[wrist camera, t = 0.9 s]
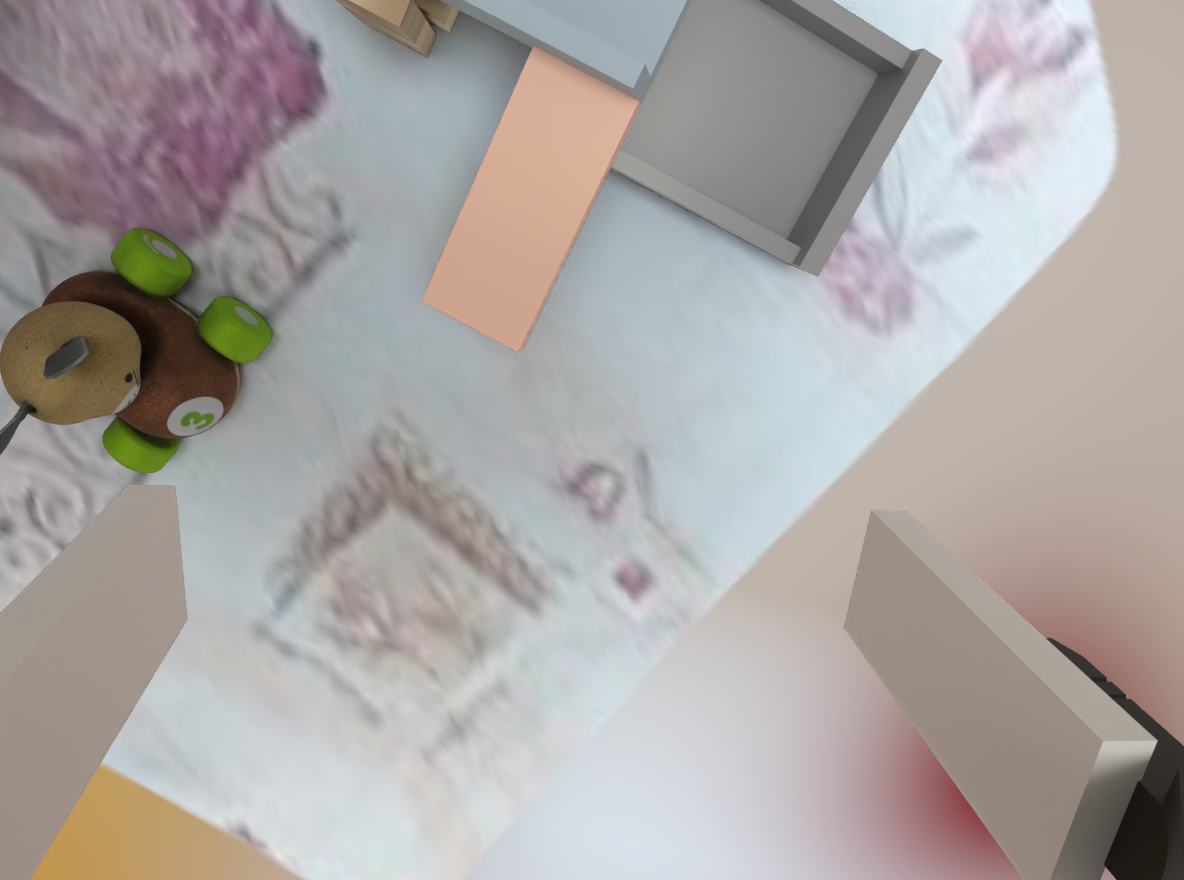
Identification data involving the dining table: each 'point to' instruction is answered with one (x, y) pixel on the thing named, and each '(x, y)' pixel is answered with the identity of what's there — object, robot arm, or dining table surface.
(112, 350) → the toy car
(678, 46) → the tray
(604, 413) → the dining table surface
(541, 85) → the lever
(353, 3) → the fulcrum
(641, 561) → the dining table surface
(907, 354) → the dining table surface
